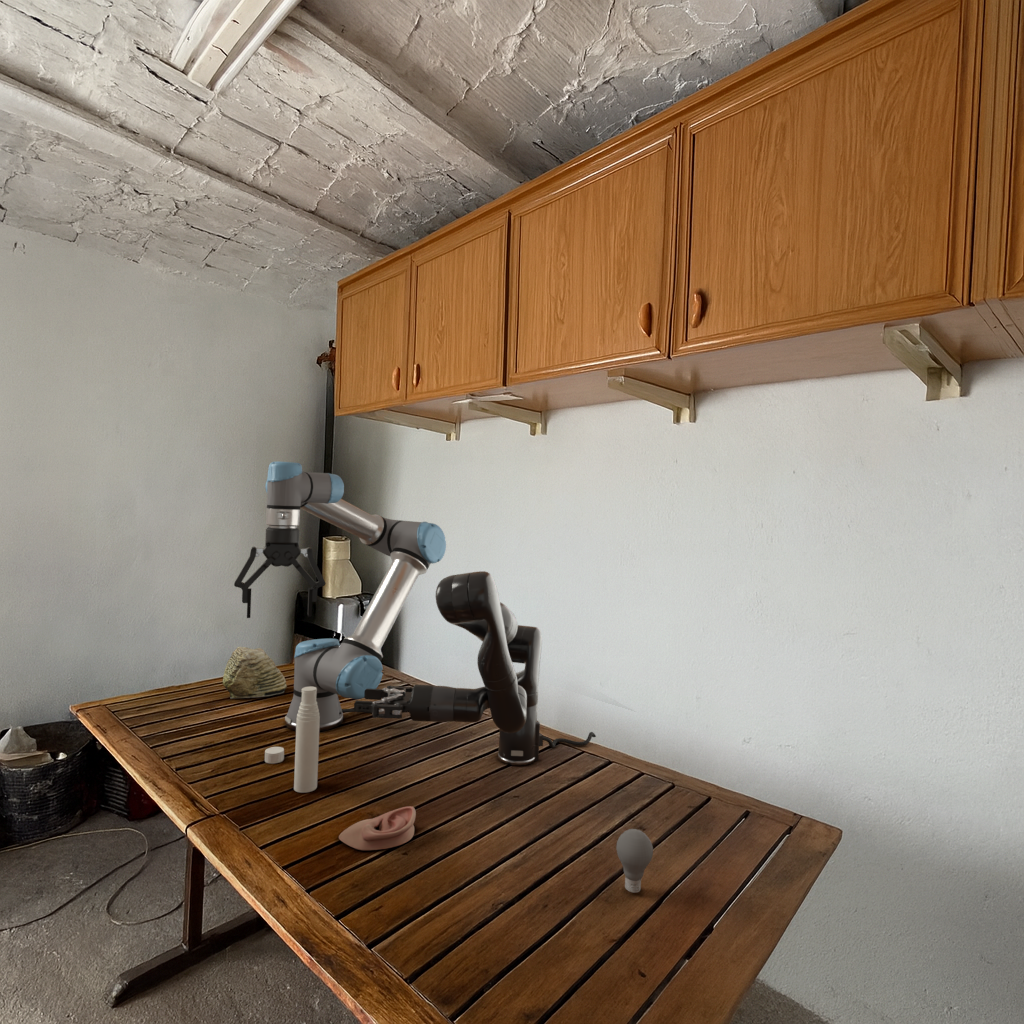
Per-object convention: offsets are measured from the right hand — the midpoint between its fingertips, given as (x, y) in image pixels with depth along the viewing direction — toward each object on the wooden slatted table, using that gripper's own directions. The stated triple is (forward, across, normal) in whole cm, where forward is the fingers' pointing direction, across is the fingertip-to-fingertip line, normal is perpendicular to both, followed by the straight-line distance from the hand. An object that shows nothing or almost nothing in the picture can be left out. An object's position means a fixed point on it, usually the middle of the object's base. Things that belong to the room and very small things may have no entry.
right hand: (359, 699), depth 137 cm
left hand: (+23, -13, -15) cm, 30 cm away
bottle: (+11, 0, +20) cm, 23 cm away
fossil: (+48, -60, +20) cm, 79 cm away
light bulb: (-54, +31, +20) cm, 66 cm away
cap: (+23, -13, +18) cm, 32 cm away
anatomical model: (-9, +18, +20) cm, 28 cm away
